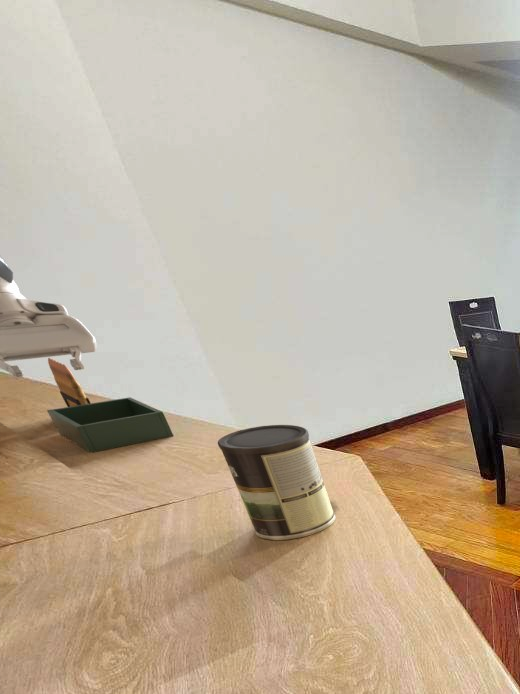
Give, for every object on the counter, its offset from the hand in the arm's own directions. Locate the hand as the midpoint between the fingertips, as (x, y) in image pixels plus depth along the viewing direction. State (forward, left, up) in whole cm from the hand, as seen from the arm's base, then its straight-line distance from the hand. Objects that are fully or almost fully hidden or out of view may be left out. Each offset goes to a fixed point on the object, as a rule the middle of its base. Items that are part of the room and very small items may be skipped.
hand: (49, 371), depth 126 cm
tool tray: (0, -27, -8) cm, 29 cm away
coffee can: (+1, -95, -9) cm, 96 cm away
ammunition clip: (0, -9, -9) cm, 13 cm away
